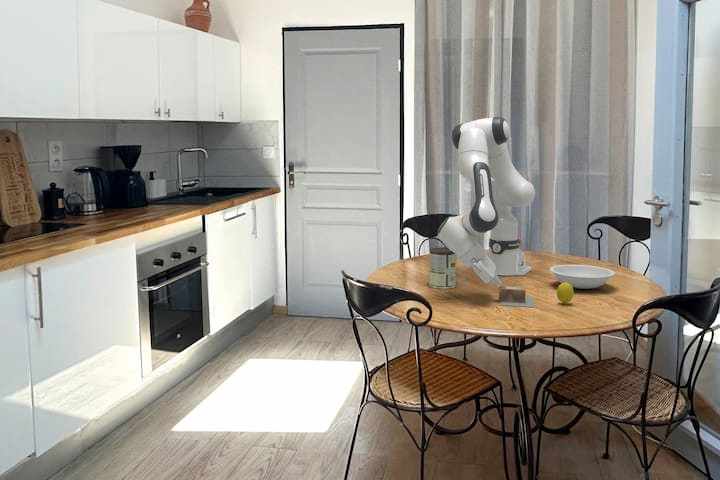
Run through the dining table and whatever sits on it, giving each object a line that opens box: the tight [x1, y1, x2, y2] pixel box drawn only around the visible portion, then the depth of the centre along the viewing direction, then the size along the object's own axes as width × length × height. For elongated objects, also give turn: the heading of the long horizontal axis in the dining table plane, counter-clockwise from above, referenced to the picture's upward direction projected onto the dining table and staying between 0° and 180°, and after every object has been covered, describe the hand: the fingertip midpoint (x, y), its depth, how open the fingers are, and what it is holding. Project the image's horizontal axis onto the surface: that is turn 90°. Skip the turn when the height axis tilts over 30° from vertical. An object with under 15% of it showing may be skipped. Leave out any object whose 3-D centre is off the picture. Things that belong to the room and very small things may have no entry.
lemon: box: [556, 282, 574, 305], centre depth 261 cm, size 6×6×8 cm
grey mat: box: [499, 296, 534, 308], centre depth 264 cm, size 11×14×1 cm
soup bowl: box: [549, 264, 616, 290], centre depth 287 cm, size 24×24×7 cm
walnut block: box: [498, 285, 527, 303], centre depth 264 cm, size 5×4×9 cm
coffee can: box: [428, 246, 457, 290], centre depth 287 cm, size 10×10×14 cm
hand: (500, 285), depth 265 cm, fingers closed
